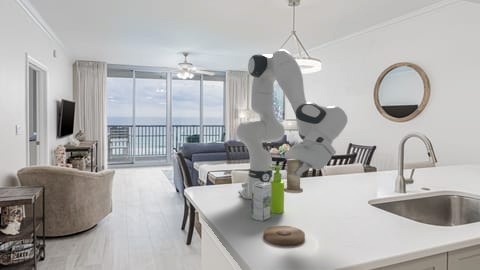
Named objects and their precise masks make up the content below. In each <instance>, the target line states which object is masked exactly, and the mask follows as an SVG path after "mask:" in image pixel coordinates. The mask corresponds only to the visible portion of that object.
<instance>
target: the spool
mask: <svg viewBox="0 0 480 270" xmlns="http://www.w3.org/2000/svg"><path fill="white" fill-rule="evenodd" d="M300 167H301V165H300V160H297V159H287V160H286V168H287V171H286V186H284V193H288V194H301V193H303V190H304V189H303V188H302V187H301V175H300V176H298V175H296V174H295V171H296V169H299V168H300Z"/></svg>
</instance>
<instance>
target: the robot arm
mask: <svg viewBox="0 0 480 270" xmlns="http://www.w3.org/2000/svg"><path fill="white" fill-rule="evenodd" d="M247 68H248V73H249V74H250V76H252V77H253V78H252V82H251V83H252V84H251V92H250V93H251V94H250V95H251V97H250V99H251V100H250V108H251V110H252V111H253V113H255V114H257V115H258V116H259V120H248V121H243V122H241V123H239V125H238V126H237V128H236V136H237V138H238V140H239V141H240V142H241V143H242V144H244V146H245V147H246V149H247V151H248V154H249V169H248V174H247V175H248V176H247V177H246V178H245V179H244V180H243V183H241V188H240V189H238V193H239V194H240V195H241V196H242V198H243V199H247V200H249V199H250V200H252V184H254V183H258V182H267V183H270V184H271V181H273V180H274V177H273V175H274V172H273V168H272V169H270V168H269V167H270V166H273V165H272V161H273V160H272V159H273V158H272V154H271V153H270V151H268V150H266V149H265V148H264V147H263V143H274V142H279V141H281V140H283V138H284V136H285V131H286V130H285V127H284V124H283V123H282V122H280V120H278V117H277V116H276V113H275V110H274V84H275V81H276V82H277V84H278V86H279V87H280V89H281V90H282V92H283V94H284V95H285V97H286V98H287V101H288V102H289V104H290V106H291V107H292V110H293V112H294V115H295V119H296V125H297V129H298V136H299V138H300V139H301V140H302V141H300V142H298V143H294V144H293V145H292V146H291V147H290V148H289V149H288V150H287V151H286V152H285V153H284V156H283V157H284V159H285V160H286V161H287V159H297V160H300V168H299V169H296V171H295V174H296V175H298V176H300V177H301V175H303V173H305V172H307V171H308V170H309V169H312V170H313V169H314V170H318V171H319V170H322V169H324V168H325V167H326V166H327V164H328V163H329V162H330V160H331V159H332V157H333V156H335V155H336V153H337V151H336V149H335V148H334V147H333V145H332V144H333V142H334V140H336V139H337V138H338V137H339V136H340V134H341V133H342V132H343V131H344V129H345V128H346V126H347V124H348V116H347V114H346V112H345V111H344V110H343V109H342V108H341V107H339V106H336V105H333V106H332V105H331V106H324V105H320V104H319V105H318V104H316V103H315V102H307V99H306V96H305V95H306V94H305V85H304V80H303V79H304V78H303V73H302V70H301V68H300V66H299V63H298V61H296V59H295V57H294V56H293V55H292V54H291V53H290V51H287V50H286V49H278V50H276V51H274V52H273V54H259V53H258V54H253V55H251V57H250V58H249V60H248V64H247ZM285 172H287V167H285Z"/></svg>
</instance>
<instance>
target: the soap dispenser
mask: <svg viewBox="0 0 480 270" xmlns="http://www.w3.org/2000/svg"><path fill="white" fill-rule="evenodd" d="M269 168H270V169H272V170H273V169H275V172H273V179H274V180H273V181H271V213H273V214H282V213H284V212H285V191H284V188H285V181H284V180H282V173H281V172H280V170H281V169H280V168H282V166H281V165H272V166H270V167H269Z"/></svg>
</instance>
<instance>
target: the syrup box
mask: <svg viewBox="0 0 480 270" xmlns="http://www.w3.org/2000/svg"><path fill="white" fill-rule="evenodd" d="M271 213H272V212H271V184H270V183H267V182H258V183H254V184H252V199H251V219H252V220H256V221H260V222H265V221H266V220H268V219H271V216H272V215H271Z"/></svg>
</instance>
